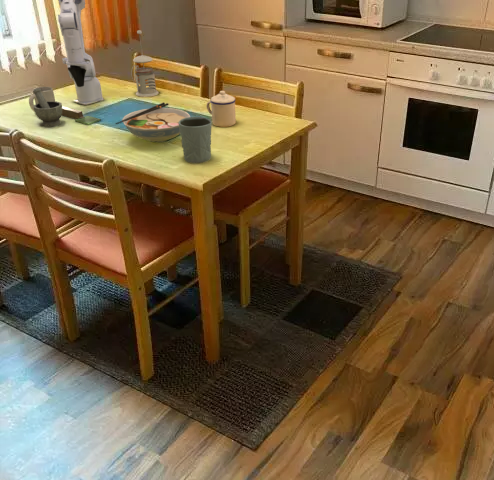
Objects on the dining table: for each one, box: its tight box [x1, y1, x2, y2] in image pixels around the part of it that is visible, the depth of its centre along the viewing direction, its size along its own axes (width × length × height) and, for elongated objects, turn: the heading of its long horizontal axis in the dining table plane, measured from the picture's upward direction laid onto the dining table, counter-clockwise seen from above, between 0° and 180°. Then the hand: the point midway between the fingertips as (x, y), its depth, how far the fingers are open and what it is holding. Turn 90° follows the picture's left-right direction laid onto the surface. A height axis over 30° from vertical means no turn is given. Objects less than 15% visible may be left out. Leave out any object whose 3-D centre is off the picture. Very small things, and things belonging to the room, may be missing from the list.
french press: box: [130, 29, 160, 98], centre depth 239 cm, size 10×12×25 cm
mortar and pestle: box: [32, 89, 63, 128], centre depth 211 cm, size 11×9×12 cm
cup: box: [28, 86, 56, 113], centre depth 221 cm, size 7×10×9 cm
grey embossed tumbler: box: [178, 116, 213, 164], centre depth 184 cm, size 10×10×12 cm
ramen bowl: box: [114, 102, 191, 143], centre depth 199 cm, size 25×23×8 cm
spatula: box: [61, 105, 102, 126], centre depth 218 cm, size 18×6×3 cm, turn 57°
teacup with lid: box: [206, 90, 237, 128], centre depth 213 cm, size 12×9×12 cm
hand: (80, 86), depth 220 cm, fingers closed
